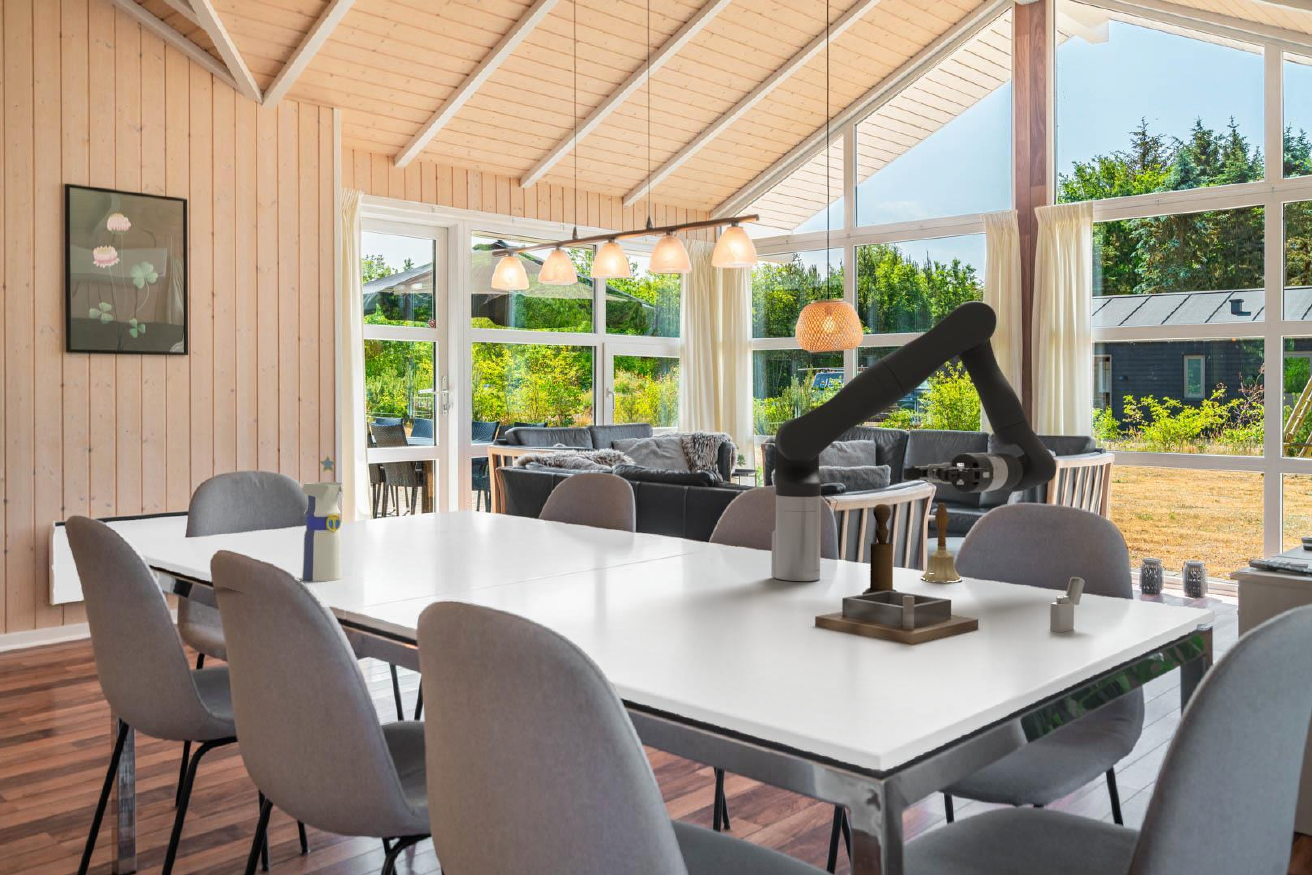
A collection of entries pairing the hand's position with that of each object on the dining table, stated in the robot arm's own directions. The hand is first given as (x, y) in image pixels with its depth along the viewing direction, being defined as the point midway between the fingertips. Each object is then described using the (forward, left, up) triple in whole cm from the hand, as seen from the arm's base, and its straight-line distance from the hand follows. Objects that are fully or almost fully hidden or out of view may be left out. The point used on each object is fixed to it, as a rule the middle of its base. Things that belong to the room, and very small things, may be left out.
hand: (923, 474), depth 190 cm
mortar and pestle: (-1, -11, -23) cm, 26 cm away
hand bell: (-12, +25, -23) cm, 36 cm away
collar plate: (+12, -25, -23) cm, 36 cm away
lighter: (+30, -5, -23) cm, 38 cm away
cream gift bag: (-93, -72, -23) cm, 120 cm away
